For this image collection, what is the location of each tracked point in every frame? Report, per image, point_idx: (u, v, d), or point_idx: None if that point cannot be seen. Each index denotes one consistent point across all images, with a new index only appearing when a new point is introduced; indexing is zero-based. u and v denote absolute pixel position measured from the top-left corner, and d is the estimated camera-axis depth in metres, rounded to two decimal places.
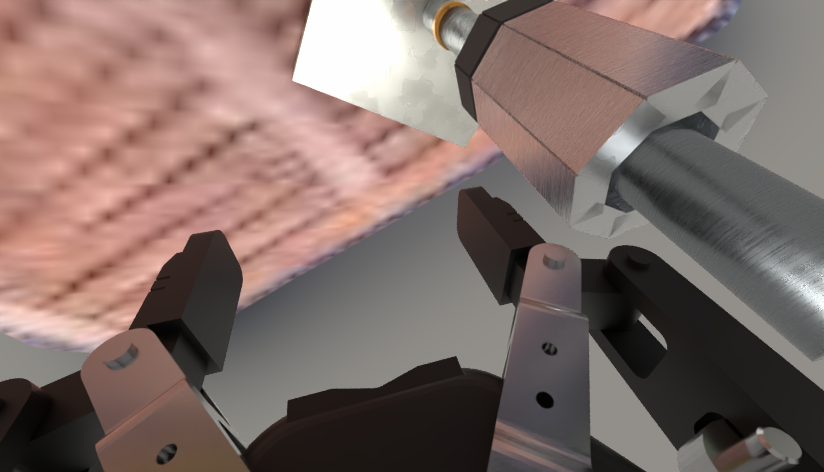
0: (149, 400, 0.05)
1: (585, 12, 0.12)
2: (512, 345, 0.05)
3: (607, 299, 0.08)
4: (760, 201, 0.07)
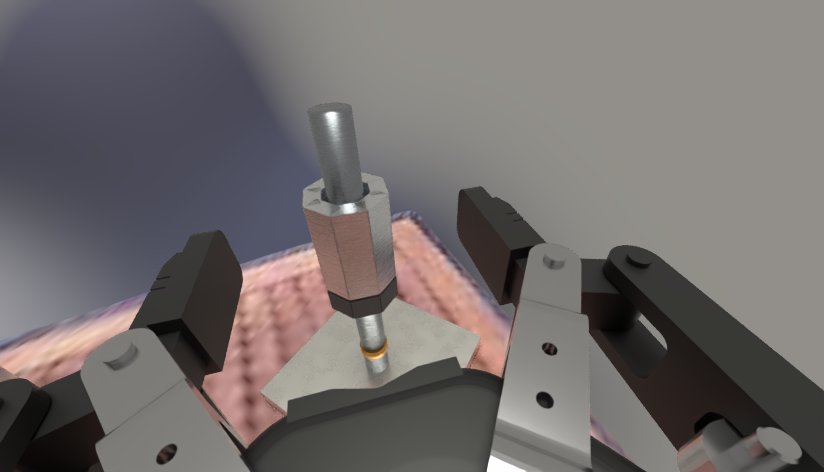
0: (149, 400, 0.05)
1: None
2: (512, 345, 0.05)
3: (607, 299, 0.08)
4: (318, 158, 0.20)
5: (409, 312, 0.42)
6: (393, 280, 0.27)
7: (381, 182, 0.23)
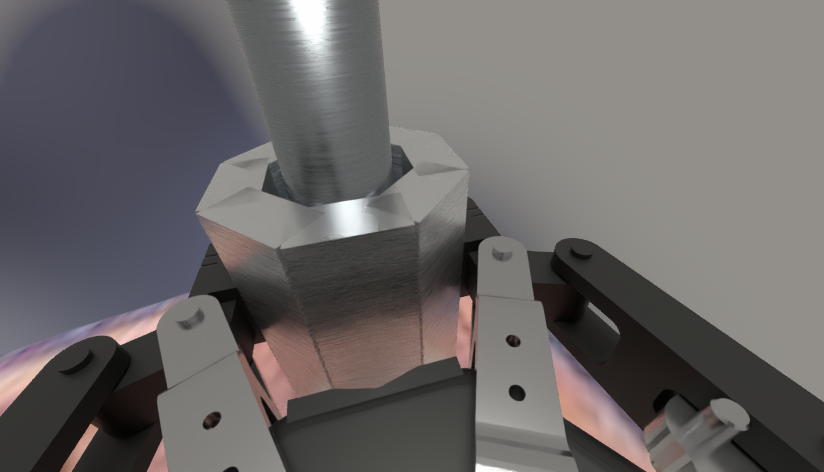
0: (206, 364, 0.06)
1: None
2: (478, 344, 0.05)
3: (552, 290, 0.08)
4: (235, 30, 0.05)
5: None
6: None
7: (438, 143, 0.09)
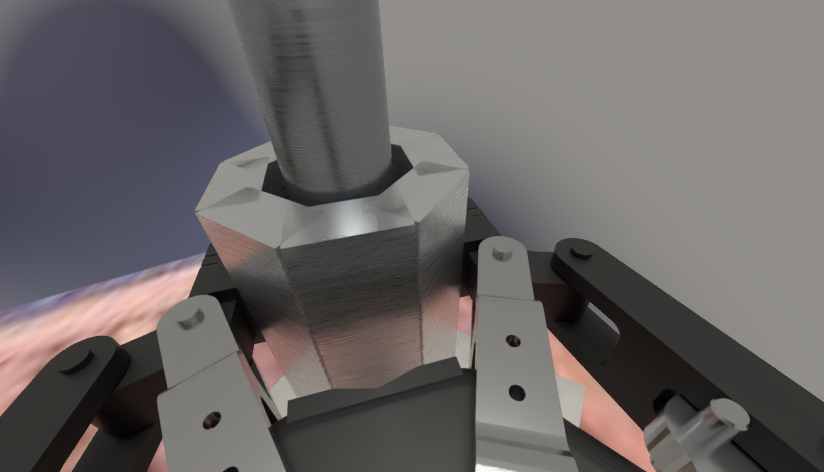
0: (206, 364, 0.06)
1: None
2: (478, 344, 0.05)
3: (552, 290, 0.08)
4: None
5: None
6: None
7: (438, 143, 0.09)
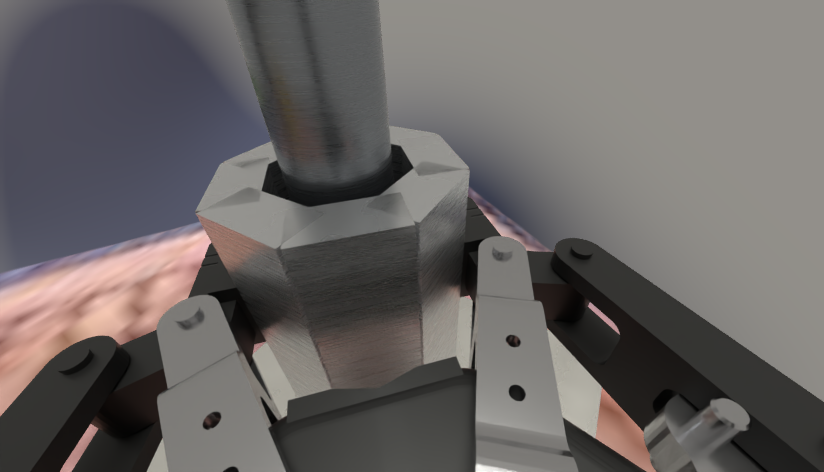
0: (206, 364, 0.06)
1: None
2: (478, 344, 0.05)
3: (552, 290, 0.08)
4: None
5: None
6: None
7: (438, 143, 0.09)
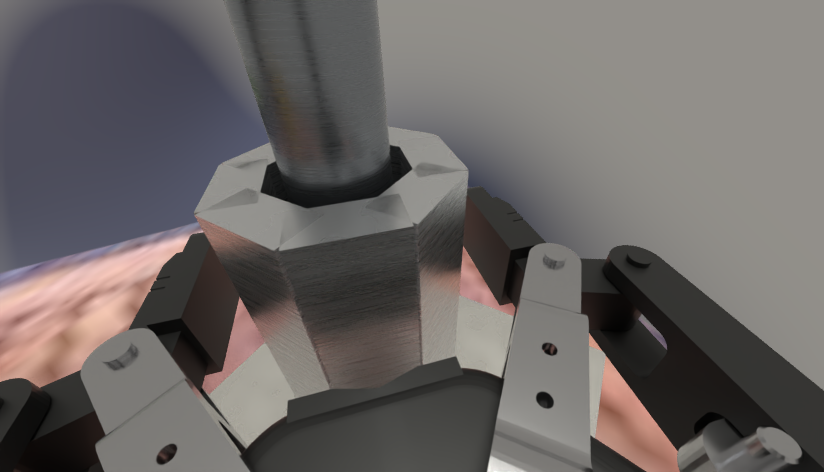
0: (149, 400, 0.05)
1: None
2: (512, 345, 0.05)
3: (607, 299, 0.08)
4: None
5: None
6: None
7: (437, 144, 0.09)
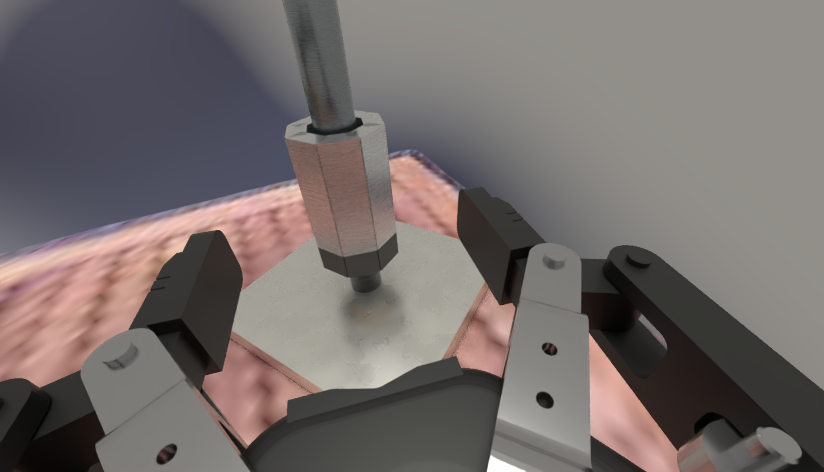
0: (149, 400, 0.05)
1: None
2: (512, 345, 0.05)
3: (607, 299, 0.08)
4: None
5: (408, 231, 0.33)
6: None
7: (377, 116, 0.20)
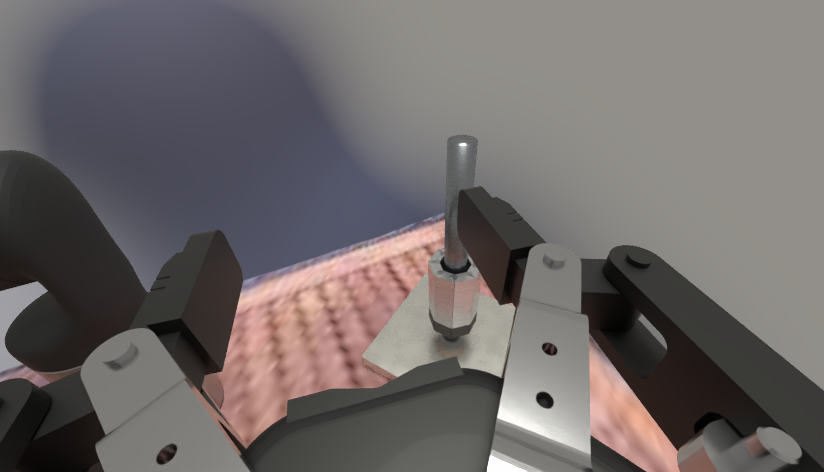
0: (149, 400, 0.05)
1: None
2: (512, 345, 0.05)
3: (607, 299, 0.08)
4: (449, 173, 0.29)
5: None
6: None
7: None
